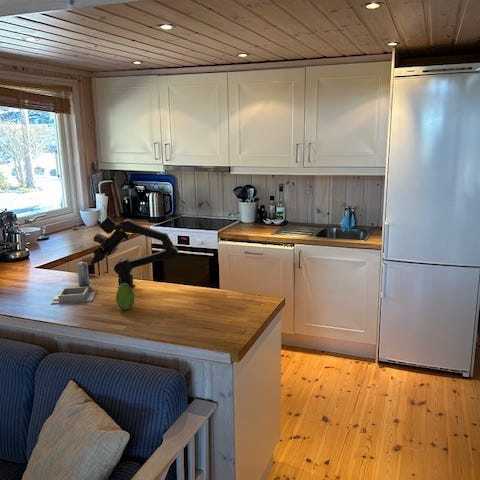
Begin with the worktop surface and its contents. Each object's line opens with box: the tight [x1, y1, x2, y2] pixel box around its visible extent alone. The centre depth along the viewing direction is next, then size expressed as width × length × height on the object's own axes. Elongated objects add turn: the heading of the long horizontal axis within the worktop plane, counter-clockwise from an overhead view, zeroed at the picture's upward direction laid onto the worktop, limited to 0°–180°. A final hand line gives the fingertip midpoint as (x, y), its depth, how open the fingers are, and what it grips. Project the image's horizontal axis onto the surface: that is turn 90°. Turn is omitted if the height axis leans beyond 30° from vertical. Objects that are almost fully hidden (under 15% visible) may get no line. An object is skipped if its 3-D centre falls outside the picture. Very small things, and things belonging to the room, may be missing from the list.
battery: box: [80, 255, 96, 276], centre depth 266 cm, size 4×7×10 cm, turn 114°
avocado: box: [115, 283, 135, 311], centre depth 209 cm, size 8×8×12 cm
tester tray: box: [51, 286, 97, 305], centre depth 226 cm, size 18×13×4 cm
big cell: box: [76, 261, 90, 289], centre depth 242 cm, size 5×5×13 cm
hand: (95, 261), depth 240 cm, fingers open, 9 cm apart
